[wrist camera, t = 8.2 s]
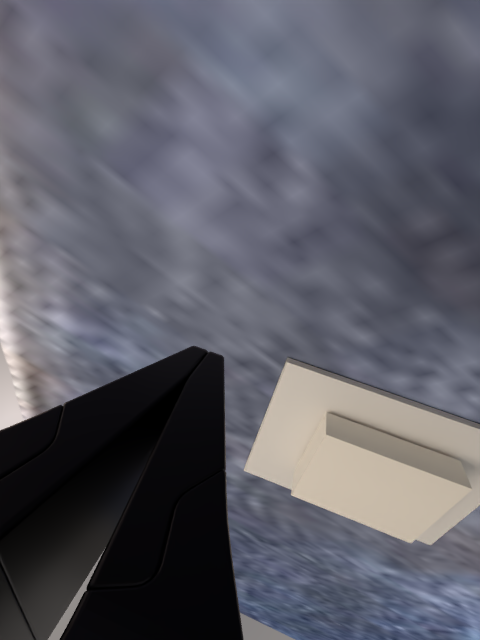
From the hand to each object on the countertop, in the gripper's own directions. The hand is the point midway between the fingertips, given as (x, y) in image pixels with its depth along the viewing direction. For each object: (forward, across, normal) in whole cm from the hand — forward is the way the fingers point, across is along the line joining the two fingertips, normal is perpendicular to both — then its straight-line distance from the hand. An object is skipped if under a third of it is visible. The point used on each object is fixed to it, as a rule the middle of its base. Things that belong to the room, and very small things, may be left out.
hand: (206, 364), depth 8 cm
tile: (+11, -7, +15) cm, 20 cm away
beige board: (+13, -12, +15) cm, 23 cm away
